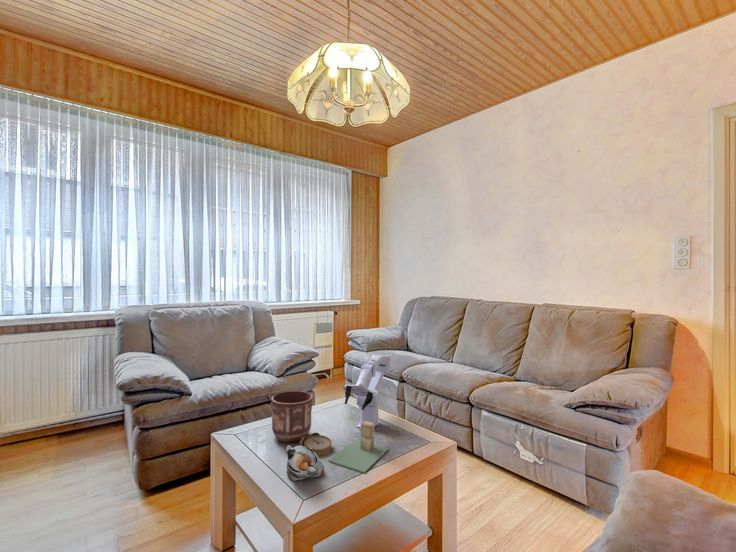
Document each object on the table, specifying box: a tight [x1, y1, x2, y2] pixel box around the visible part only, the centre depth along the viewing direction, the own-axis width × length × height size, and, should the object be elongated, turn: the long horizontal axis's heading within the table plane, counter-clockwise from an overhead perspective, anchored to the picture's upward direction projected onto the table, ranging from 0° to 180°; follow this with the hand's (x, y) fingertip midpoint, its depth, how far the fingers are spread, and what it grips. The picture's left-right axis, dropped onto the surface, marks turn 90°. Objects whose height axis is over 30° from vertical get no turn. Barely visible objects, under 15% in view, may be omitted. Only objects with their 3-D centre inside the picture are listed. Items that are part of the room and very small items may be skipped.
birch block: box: [360, 421, 375, 451], centre depth 149 cm, size 4×4×10 cm
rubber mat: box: [328, 439, 389, 474], centre depth 143 cm, size 20×16×1 cm
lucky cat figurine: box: [285, 444, 325, 482], centre depth 128 cm, size 15×12×14 cm
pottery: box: [270, 390, 314, 444], centre depth 159 cm, size 18×18×18 cm
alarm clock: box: [298, 432, 334, 458], centre depth 149 cm, size 11×5×15 cm
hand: (354, 405), depth 152 cm, fingers open, 7 cm apart
